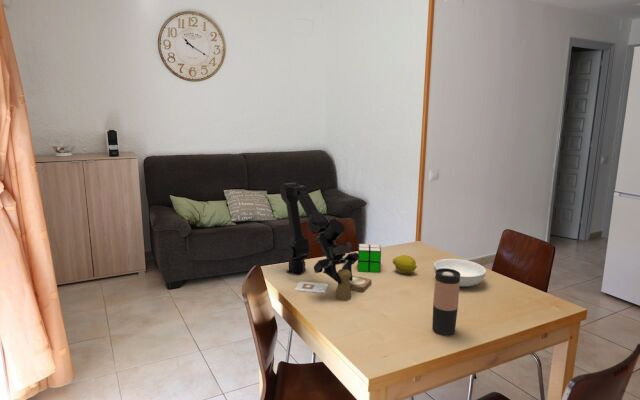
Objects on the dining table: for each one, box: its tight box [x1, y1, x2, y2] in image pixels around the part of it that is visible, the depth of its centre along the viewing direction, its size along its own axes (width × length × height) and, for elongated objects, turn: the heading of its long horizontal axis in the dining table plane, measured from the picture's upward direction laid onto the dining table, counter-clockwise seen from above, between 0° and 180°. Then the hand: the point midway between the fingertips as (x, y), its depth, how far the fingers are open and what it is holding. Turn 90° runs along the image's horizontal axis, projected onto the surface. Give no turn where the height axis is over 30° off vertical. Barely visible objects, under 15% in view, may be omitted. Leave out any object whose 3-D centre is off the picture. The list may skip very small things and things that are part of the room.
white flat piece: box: [294, 281, 329, 294], centre depth 177 cm, size 12×9×1 cm
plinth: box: [350, 275, 372, 293], centre depth 180 cm, size 10×10×2 cm
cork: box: [335, 268, 352, 302], centre depth 167 cm, size 6×6×11 cm
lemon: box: [392, 254, 418, 275], centre depth 194 cm, size 11×8×8 cm
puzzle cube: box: [357, 243, 382, 274], centre depth 199 cm, size 10×10×10 cm
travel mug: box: [431, 268, 460, 337], centre depth 142 cm, size 8×8×20 cm
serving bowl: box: [433, 258, 487, 287], centre depth 185 cm, size 21×21×7 cm
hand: (346, 282), depth 166 cm, fingers closed on cork, 5 cm apart
